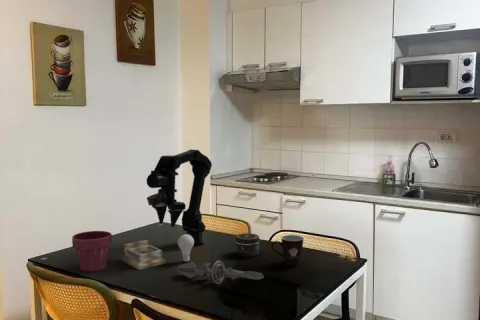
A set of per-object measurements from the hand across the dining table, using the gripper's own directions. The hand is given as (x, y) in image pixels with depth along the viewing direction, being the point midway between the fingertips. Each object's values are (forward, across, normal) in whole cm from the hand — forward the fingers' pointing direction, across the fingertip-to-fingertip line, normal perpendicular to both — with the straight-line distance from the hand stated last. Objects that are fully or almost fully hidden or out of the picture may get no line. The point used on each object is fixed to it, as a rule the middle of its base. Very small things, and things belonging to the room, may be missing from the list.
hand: (166, 225), depth 186 cm
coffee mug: (+12, +37, +34) cm, 51 cm away
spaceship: (+15, +37, 0) cm, 40 cm away
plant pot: (+15, -7, -28) cm, 32 cm away
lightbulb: (+14, +10, +4) cm, 17 cm away
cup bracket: (+14, 0, -10) cm, 17 cm away
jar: (+12, +18, +29) cm, 36 cm away
